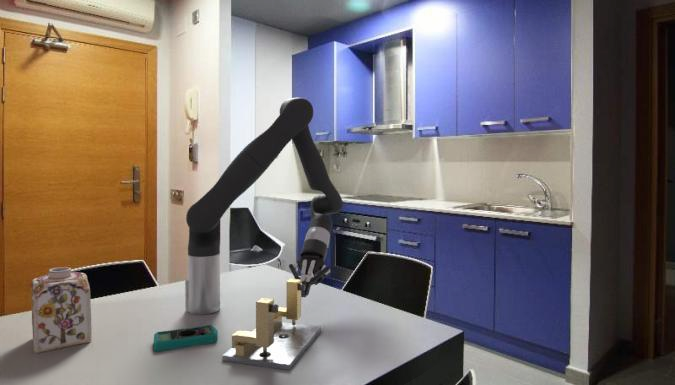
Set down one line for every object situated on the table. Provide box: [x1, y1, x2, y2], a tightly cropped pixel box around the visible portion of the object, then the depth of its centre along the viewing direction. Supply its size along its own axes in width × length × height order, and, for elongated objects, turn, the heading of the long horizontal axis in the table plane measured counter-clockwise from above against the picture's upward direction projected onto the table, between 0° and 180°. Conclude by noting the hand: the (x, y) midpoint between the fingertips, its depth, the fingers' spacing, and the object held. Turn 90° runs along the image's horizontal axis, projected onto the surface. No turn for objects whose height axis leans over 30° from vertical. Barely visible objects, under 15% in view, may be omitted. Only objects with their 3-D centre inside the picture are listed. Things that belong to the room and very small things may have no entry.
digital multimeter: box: [153, 324, 219, 353], centre depth 105 cm, size 7×15×3 cm, turn 115°
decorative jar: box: [30, 266, 93, 354], centre depth 105 cm, size 12×12×18 cm
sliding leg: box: [274, 278, 305, 325], centre depth 113 cm, size 10×3×12 cm, turn 75°
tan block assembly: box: [231, 297, 283, 357], centre depth 104 cm, size 10×22×12 cm, turn 165°
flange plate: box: [221, 321, 322, 371], centre depth 104 cm, size 16×23×1 cm
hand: (302, 295), depth 119 cm, fingers closed
